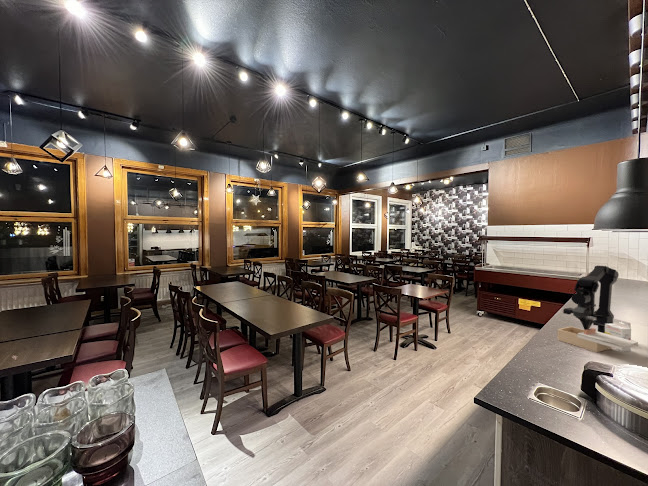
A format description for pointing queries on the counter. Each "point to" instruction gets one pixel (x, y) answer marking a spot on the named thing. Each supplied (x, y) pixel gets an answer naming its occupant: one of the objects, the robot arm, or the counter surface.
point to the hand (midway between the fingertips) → (586, 330)
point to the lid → (605, 339)
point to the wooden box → (579, 339)
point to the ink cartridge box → (619, 331)
